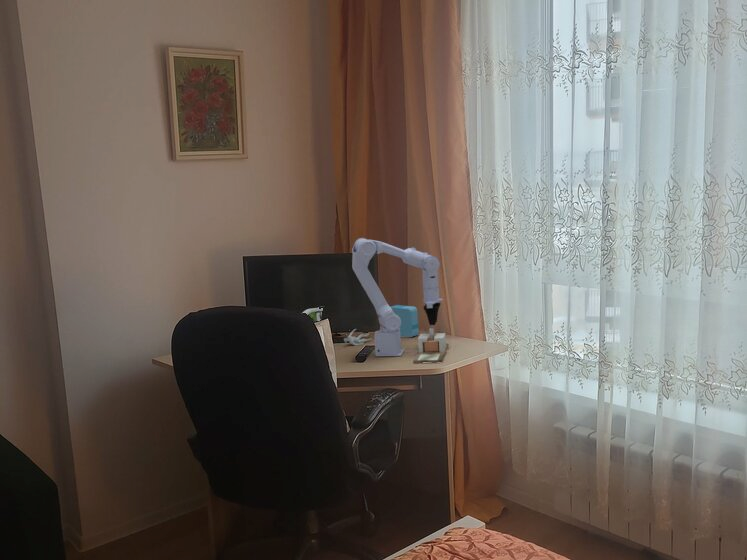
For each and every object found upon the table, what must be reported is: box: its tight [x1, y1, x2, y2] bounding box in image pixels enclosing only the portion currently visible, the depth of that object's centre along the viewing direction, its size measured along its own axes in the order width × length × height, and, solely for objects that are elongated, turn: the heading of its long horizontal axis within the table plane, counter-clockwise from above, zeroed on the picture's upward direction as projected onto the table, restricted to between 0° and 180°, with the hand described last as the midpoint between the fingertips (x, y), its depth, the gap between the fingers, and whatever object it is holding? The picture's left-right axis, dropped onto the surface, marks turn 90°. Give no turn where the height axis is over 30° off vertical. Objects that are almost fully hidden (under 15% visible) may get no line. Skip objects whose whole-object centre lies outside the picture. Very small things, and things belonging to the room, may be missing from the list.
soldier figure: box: [343, 328, 373, 347], centre depth 299 cm, size 8×5×12 cm
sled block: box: [424, 327, 439, 351], centre depth 276 cm, size 5×6×8 cm
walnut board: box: [412, 343, 449, 364], centre depth 274 cm, size 10×24×1 cm, turn 169°
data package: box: [390, 304, 420, 338], centre depth 307 cm, size 12×4×12 cm, turn 48°
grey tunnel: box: [417, 332, 447, 353], centre depth 277 cm, size 9×8×5 cm
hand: (433, 323), depth 282 cm, fingers open, 3 cm apart
